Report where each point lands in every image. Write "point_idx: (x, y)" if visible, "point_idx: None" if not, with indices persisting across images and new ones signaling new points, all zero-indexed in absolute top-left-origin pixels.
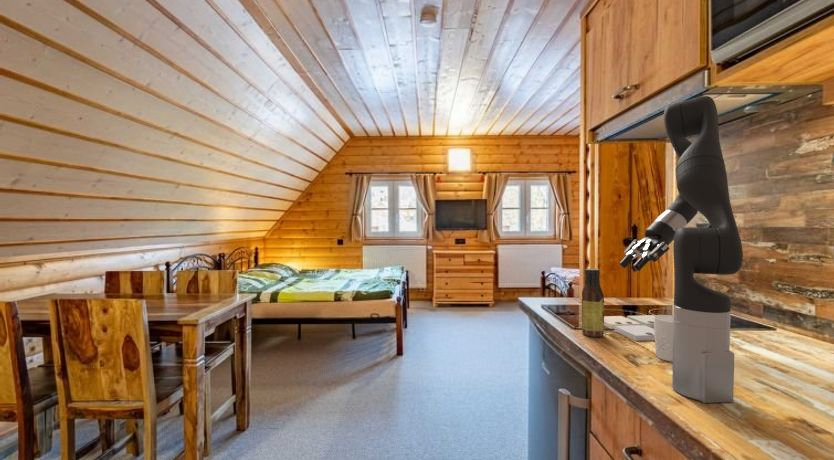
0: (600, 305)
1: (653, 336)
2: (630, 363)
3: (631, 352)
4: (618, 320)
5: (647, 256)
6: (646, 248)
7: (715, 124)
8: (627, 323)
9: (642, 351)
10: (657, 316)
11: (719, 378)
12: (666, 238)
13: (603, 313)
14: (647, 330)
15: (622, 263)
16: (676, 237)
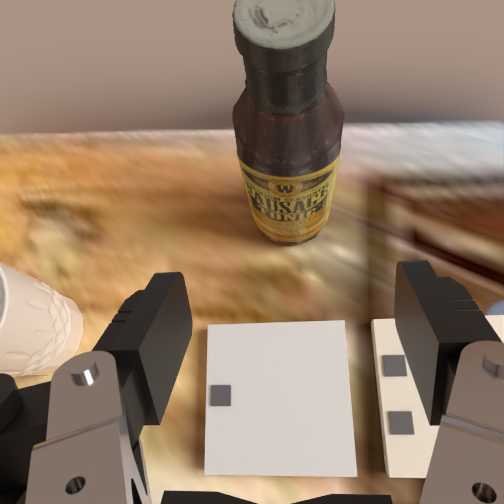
0: (240, 166)
1: (207, 403)
2: (41, 196)
3: (110, 245)
4: None
5: (47, 397)
6: (50, 457)
7: None
8: (390, 408)
9: (112, 283)
10: (5, 287)
11: None
12: None
13: (256, 202)
14: (270, 424)
15: (400, 281)
16: None
